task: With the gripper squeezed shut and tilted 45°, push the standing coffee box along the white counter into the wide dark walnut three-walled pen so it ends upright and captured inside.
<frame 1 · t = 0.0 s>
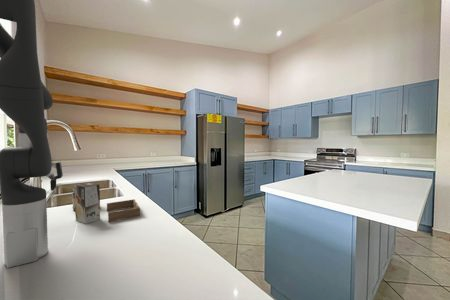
hand: (36, 191, 69), 17 cm above the countertop, tool pointing down, fingers open, 8 cm apart
walnut pen: (122, 213, 94), on the countertop
supplement container: (85, 208, 102), on the countertop
coffee box: (87, 220, 87), on the countertop
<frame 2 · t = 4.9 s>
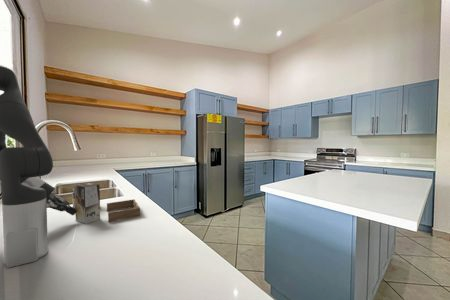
hand: (75, 213, 84), 4 cm above the countertop, tool tilted 45°, fingers closed
coffee box: (88, 220, 87), on the countertop, touching gripper
everything else where it was.
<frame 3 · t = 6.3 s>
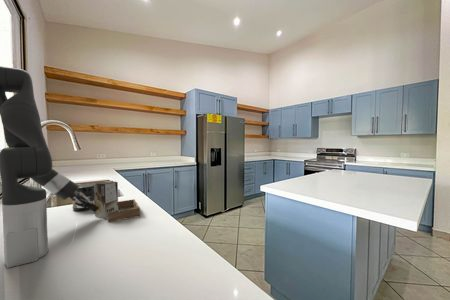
hand: (96, 209, 89), 4 cm above the countertop, tool tilted 45°, fingers closed
coffee box: (106, 215, 92), on the countertop, touching gripper
everything else where it was.
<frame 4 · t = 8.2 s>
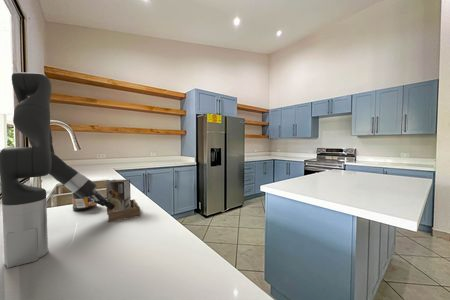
hand: (113, 207, 92), 4 cm above the countertop, tool tilted 45°, fingers closed
coffee box: (119, 212, 96), on the countertop, touching gripper, hand, walnut pen
everything else where it was.
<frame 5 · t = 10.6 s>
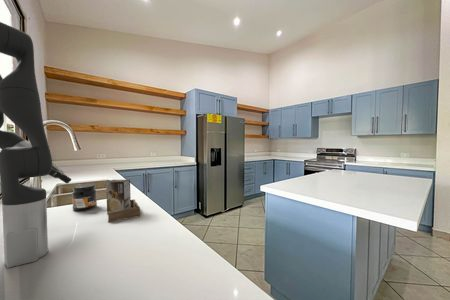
hand: (69, 181, 83), 18 cm above the countertop, tool tilted 45°, fingers closed
coffee box: (119, 212, 96), on the countertop, touching walnut pen
everything else where it was.
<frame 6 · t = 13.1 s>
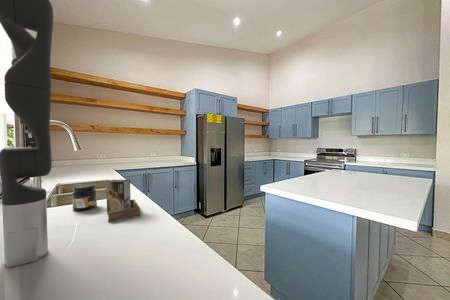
hand: (35, 157, 75), 29 cm above the countertop, tool pointing down, fingers closed
nothing on the countertop moved.
at the end: coffee box inside the target area (3.3 cm from its centre), on the countertop; coffee box tilted 0°; the gripper is holding nothing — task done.
